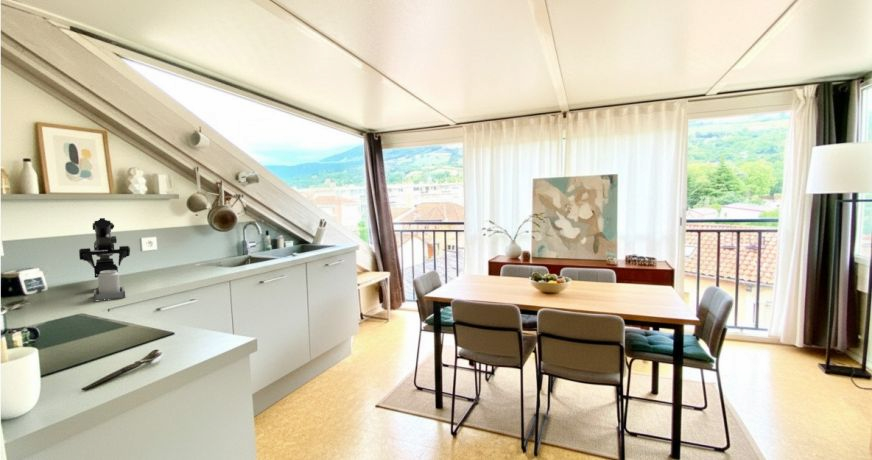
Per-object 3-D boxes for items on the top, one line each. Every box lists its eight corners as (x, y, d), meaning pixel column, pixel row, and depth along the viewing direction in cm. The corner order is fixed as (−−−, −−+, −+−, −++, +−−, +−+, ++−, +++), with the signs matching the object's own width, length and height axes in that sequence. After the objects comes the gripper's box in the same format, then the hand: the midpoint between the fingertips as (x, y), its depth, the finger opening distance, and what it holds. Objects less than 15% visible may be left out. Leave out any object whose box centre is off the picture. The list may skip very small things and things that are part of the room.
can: (117, 297, 179) (116, 272, 178) (96, 298, 176) (95, 273, 174) (121, 293, 186) (120, 268, 184) (102, 294, 182) (100, 269, 181)
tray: (94, 296, 181) (93, 290, 181) (124, 292, 188) (123, 286, 188) (94, 301, 173) (93, 295, 172) (125, 297, 180) (124, 291, 180)
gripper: (77, 231, 179) (80, 258, 173) (128, 229, 192) (132, 254, 186) (78, 246, 186) (80, 272, 179) (127, 243, 199) (131, 267, 192)
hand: (106, 266), depth 184 cm, fingers open, 9 cm apart
